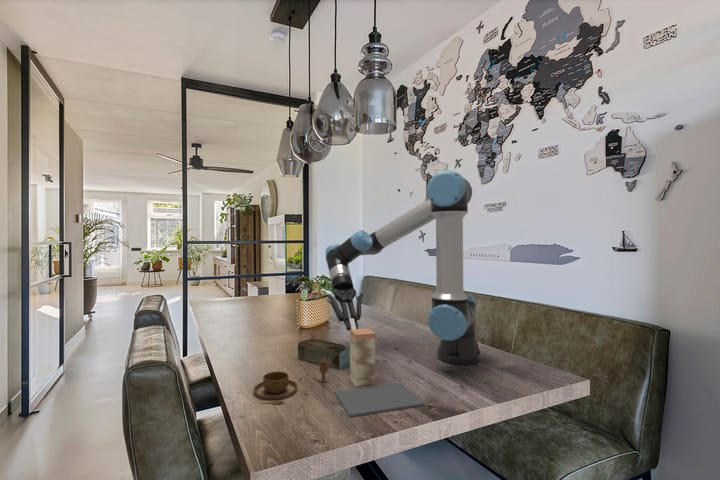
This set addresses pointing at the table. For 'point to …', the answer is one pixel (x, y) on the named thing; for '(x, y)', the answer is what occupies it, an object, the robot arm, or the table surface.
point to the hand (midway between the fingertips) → (354, 338)
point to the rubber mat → (377, 399)
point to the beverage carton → (324, 353)
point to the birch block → (362, 357)
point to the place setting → (281, 385)
